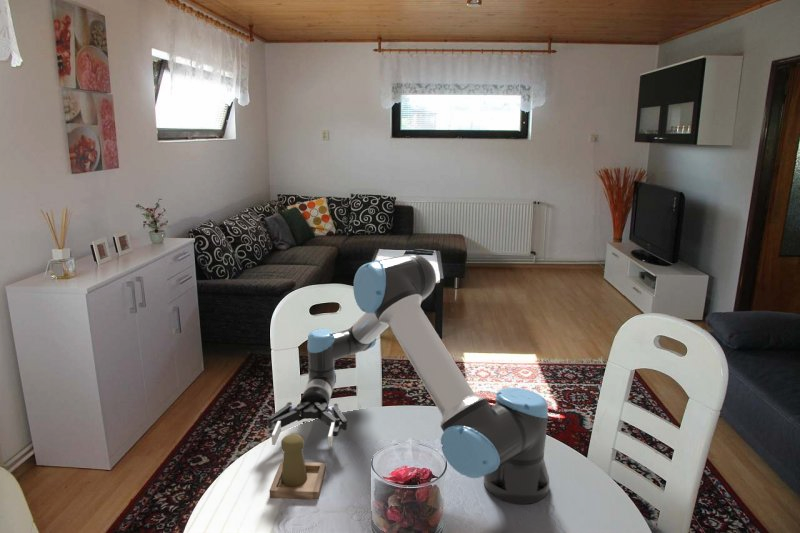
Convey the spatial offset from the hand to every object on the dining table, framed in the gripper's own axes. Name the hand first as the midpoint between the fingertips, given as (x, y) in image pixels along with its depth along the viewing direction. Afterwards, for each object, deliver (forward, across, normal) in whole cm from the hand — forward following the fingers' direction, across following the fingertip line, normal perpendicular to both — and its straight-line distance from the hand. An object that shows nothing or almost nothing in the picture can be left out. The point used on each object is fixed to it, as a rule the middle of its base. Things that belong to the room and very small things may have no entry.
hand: (301, 440), depth 137 cm
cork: (+5, +1, -7) cm, 9 cm away
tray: (+6, 0, -8) cm, 10 cm away
